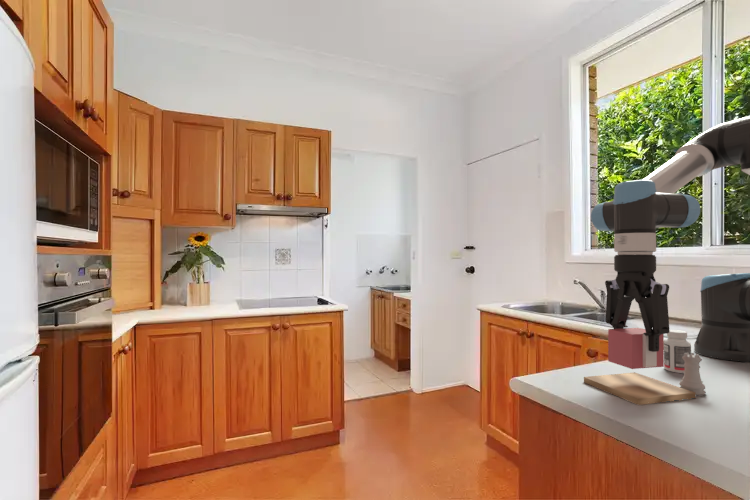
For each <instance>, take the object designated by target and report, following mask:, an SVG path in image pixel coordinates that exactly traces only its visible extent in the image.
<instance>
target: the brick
mask: <svg viewBox="0 0 750 500" xmlns="http://www.w3.org/2000/svg"><path fill="white" fill-rule="evenodd" d="M607 331H608V332H607V333H608V334H607V343H608V344H607V345H608V346H607V347H608V352H607V353H608V356H607V357H608V358H607V359H608V360H607V362H609V363H612V364H615V365H618V366H622V367H625V368H628V369H631V370H636V369H638V370H639V369H651V368H653V367H643V335H644V334H643V333H646V330H645V328H641V327H631V328H628V327H624V328H623V329H614V328H608V330H607ZM664 336H665V335H664V334H661V335H660V336H659V351H657V367H656V368H663V367H664V340H665V339H664Z"/></svg>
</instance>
